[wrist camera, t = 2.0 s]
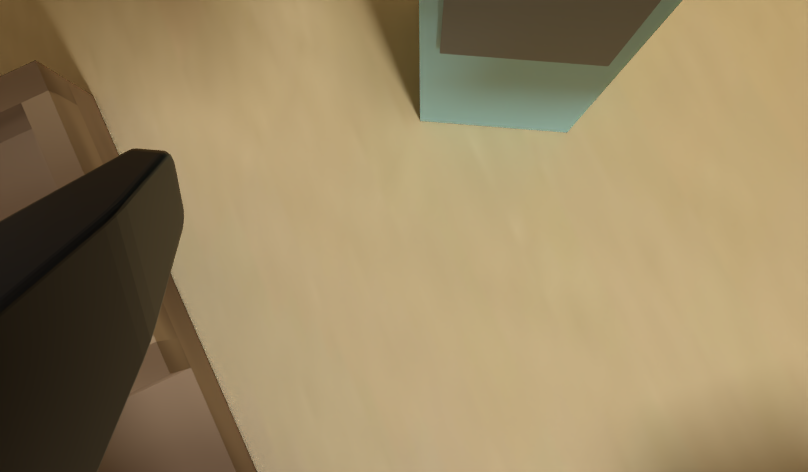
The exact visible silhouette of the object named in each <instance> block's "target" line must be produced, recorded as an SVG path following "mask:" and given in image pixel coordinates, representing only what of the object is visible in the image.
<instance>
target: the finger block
mask: <svg viewBox="0 0 808 472" xmlns="http://www.w3.org/2000/svg"><path fill="white" fill-rule="evenodd" d="M681 1H682V0H419V51H420V121H429V122H441V123H454V124H466V125H479V126H492V127H504V128H517V129H529V130H542V131H554V132H568V131H569V129H570V128H571V127H572V126H573V125H574V124H575V123H576V121H577V120H578V119H579V118H580V117H581V116H582V115H583V113H584V112H585V111H586V110H587V109H588V108H589V107H590V105H591V104H592V103H593V102H594V101H595V100H596V99H597V97H598V96H599V95H600V94H601V93H602V92H603V91H604V89H605V88H606V87H607V86H608V85H609V84H610V83H611V81H612V80H613V79H614V78H615V77H616V76H617V75H618V73H619V72H620V71H621V70H622V69H623V68H624V67H625V65H626V64H627V63H628V62H629V61H630V60H631V59H632V57H633V56H634V55H635V54H636V53H637V52H638V51H639V49H640V48H641V47H642V46H643V45H644V44H645V43H646V41H647V40H648V39H649V38H650V37H651V36H652V35H653V33H654V32H655V31H656V30H657V29H658V28H659V27H660V25H661V24H662V23H663V22H664V21H665V20H666V19H667V17H668V16H669V15H670V14H671V13H672V12H673V11H674V9H675V8H676V7H677V6H678V5H679V4H680V3H681Z"/></svg>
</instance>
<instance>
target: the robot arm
mask: <svg viewBox="0 0 808 472" xmlns="http://www.w3.org/2000/svg"><path fill="white" fill-rule="evenodd" d="M183 223H184V209H183V204H182V199H181V194H180V189H179V184H178V178H177V173H176V168H175V164H174V161H173V159H172V157H171V155H170V154H169V153H167V152H166V151H160V150H149V149H131V150H129V151H127V152H125V153H123V154H121V155H119V156H117V157H116V158H114V159H112V160H110V161H108V162H107V163H105V164H103V165H101V166H99V167H97V168H96V169H94V170H92V171H90V172H88V173H87V174H85V175H83V176H81V177H79V178H77V179H76V180H74V181H72V182H70V183H68V184H67V185H65V186H63V187H61V188H59V189H57V190H56V191H54V192H52V193H50V194H48V195H47V196H45V197H43V198H41V199H39V200H37V201H36V202H34V203H32V204H30V205H28V206H27V207H25V208H23V209H21V210H19V211H17V212H16V213H14V214H12V215H10V216H8V217H7V218H5V219H3V220H1V221H0V472H97V471H98V469H99V467H100V464H101V462H102V459H103V457H104V454H105V452H106V450H107V447H108V445H109V442H110V440H111V438H112V435H113V433H114V430H115V428H116V426H117V423H118V421H119V418H120V416H121V414H122V411H123V409H124V406H125V404H126V402H127V399H128V397H129V394H130V392H131V390H132V387H133V385H134V382H135V380H136V378H137V375H138V373H139V370H140V368H141V366H142V363H143V361H144V358H145V356H146V353H147V350H148V348H149V345H150V342H151V340H152V336H153V333H154V330H155V327H156V323H157V320H158V316H159V313H160V309H161V305H162V302H163V298H164V295H165V291H166V287H167V284H168V280H169V276H170V273H171V269H172V266H173V262H174V258H175V255H176V251H177V248H178V244H179V240H180V237H181V233H182V229H183Z"/></svg>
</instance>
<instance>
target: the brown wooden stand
mask: <svg viewBox="0 0 808 472" xmlns="http://www.w3.org/2000/svg"><path fill="white" fill-rule="evenodd" d="M117 156H119V155H118V153H117V150H116V148H115V146H114V143H113V141H112V139H111V137H110V134H109V132H108V130H107V127H106V125H105V123H104V120H103V118H102V116H101V114H100V111H99V109H98V107H97V104H96V102H95V100H94V98H93V96H92V95H91V94H89V93H87V92H86V91H84V90H83V89H81V88H79V87H78V86H76V85H74V84H73V83H71V82H70V81H68V80H66V79H65V78H63V77H61V76H60V75H58V74H57V73H55V72H53V71H52V70H50V69H48V68H47V67H45V66H44V65H42V64H40V63H39V62H37V61H33V62H31V63H29V64H26V65H24V66H22V67H20V68H18V69H16V70H13V71H11V72H9V73H7V74H5V75H3V76H0V221H1V220H3V219H5V218H7V217H8V216H10V215H12V214H14V213H16V212H17V211H19V210H21V209H23V208H25V207H27V206H28V205H30V204H32V203H34V202H36V201H37V200H39V199H41V198H43V197H45V196H47V195H48V194H50V193H52V192H54V191H56V190H57V189H59V188H61V187H63V186H65V185H67V184H68V183H70V182H72V181H74V180H76V179H77V178H79V177H81V176H83V175H85V174H87V173H88V172H90V171H92V170H94V169H96V168H97V167H99V166H101V165H103V164H105V163H107V162H108V161H110V160H112V159H114V158H116V157H117ZM97 472H256V470H255V467H254V465H253V463H252V460H251V458H250V456H249V454H248V451H247V449H246V447H245V444H244V442H243V440H242V437H241V435H240V433H239V431H238V428H237V426H236V424H235V421H234V419H233V417H232V414H231V412H230V410H229V408H228V405H227V403H226V401H225V398H224V396H223V394H222V391H221V389H220V387H219V385H218V382H217V380H216V378H215V375H214V373H213V371H212V369H211V366H210V364H209V362H208V359H207V357H206V355H205V352H204V350H203V348H202V346H201V343H200V341H199V339H198V336H197V334H196V332H195V329H194V327H193V325H192V323H191V320H190V318H189V316H188V313H187V311H186V309H185V307H184V304H183V302H182V300H181V297H180V295H179V293H178V290H177V288H176V286H175V284H174V281H173V279H172V277H171V274H170V276H169V280H168V284H167V287H166V291H165V295H164V298H163V302H162V305H161V309H160V313H159V316H158V320H157V323H156V327H155V330H154V333H153V336H152V340H151V342H150V345H149V348H148V350H147V353H146V356H145V358H144V361H143V363H142V366H141V368H140V370H139V373H138V375H137V378H136V380H135V382H134V385H133V387H132V390H131V392H130V394H129V397H128V399H127V402H126V404H125V406H124V409H123V411H122V414H121V416H120V418H119V421H118V423H117V426H116V428H115V430H114V433H113V435H112V438H111V440H110V442H109V445H108V447H107V450H106V452H105V454H104V457H103V459H102V462H101V464H100V467H99V469H98V471H97Z"/></svg>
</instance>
